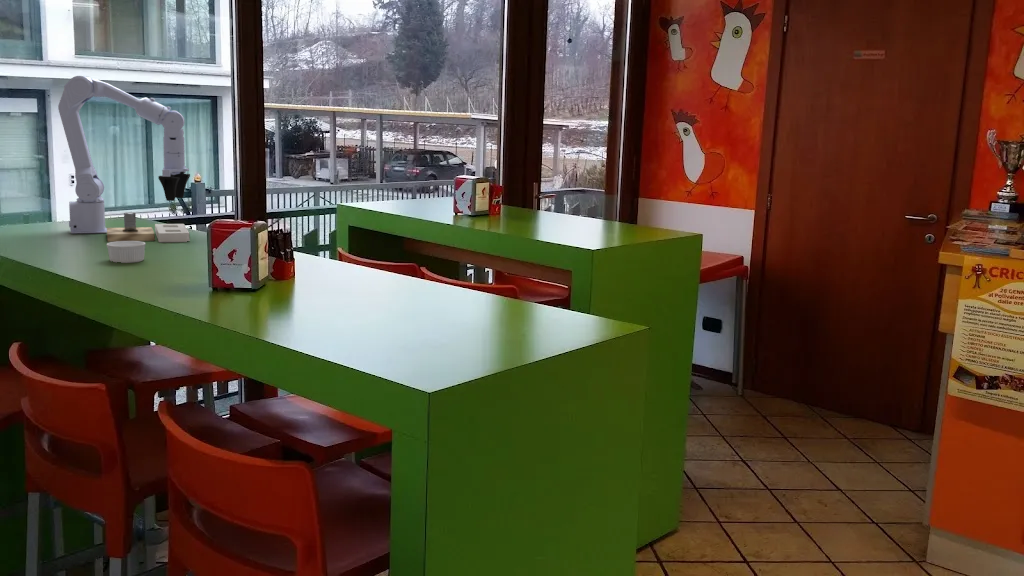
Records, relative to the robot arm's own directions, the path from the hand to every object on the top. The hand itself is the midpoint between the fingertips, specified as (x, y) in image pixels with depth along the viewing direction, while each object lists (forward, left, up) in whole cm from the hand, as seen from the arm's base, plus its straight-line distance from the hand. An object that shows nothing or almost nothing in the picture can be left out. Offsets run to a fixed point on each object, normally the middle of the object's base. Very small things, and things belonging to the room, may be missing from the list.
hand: (174, 199), depth 268 cm
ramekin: (-15, -44, -10) cm, 47 cm away
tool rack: (-2, -9, -10) cm, 13 cm away
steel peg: (-13, -9, -10) cm, 18 cm away
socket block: (-13, -9, -10) cm, 18 cm away
